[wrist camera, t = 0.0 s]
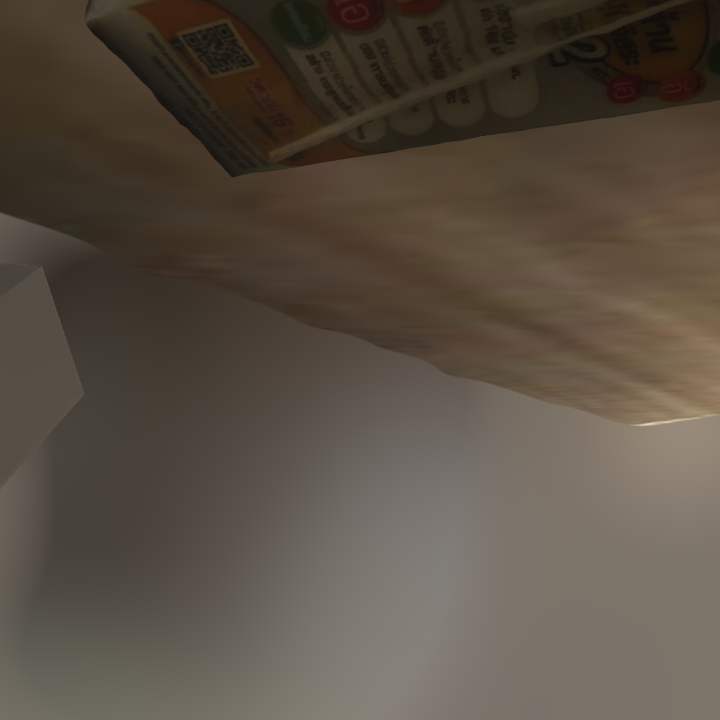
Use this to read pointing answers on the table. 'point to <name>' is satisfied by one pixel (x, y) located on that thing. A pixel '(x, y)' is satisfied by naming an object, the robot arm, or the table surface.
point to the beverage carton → (404, 68)
